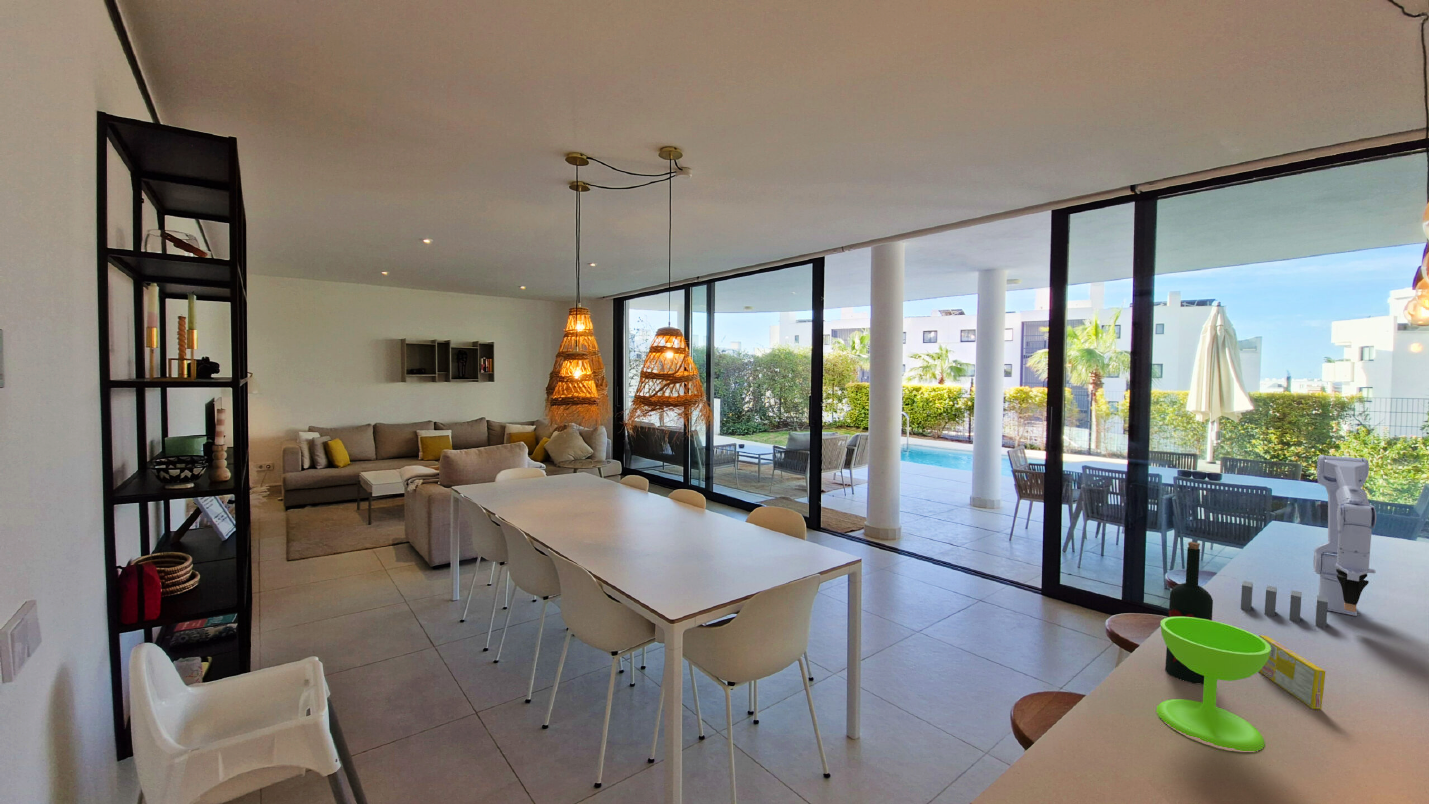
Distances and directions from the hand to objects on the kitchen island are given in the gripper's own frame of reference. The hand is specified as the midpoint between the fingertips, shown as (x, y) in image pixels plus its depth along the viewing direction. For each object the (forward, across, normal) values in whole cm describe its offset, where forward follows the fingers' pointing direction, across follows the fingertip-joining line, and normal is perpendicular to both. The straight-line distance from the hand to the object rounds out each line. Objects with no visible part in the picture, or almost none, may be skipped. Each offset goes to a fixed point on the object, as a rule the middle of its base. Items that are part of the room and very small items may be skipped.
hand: (1350, 600), depth 154 cm
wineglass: (+8, -82, +20) cm, 85 cm away
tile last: (+8, 0, +20) cm, 22 cm away
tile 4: (+8, 0, +15) cm, 17 cm away
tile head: (+2, 0, 0) cm, 2 cm away
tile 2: (+8, 0, +5) cm, 9 cm away
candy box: (+8, -52, +10) cm, 54 cm away
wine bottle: (+8, -62, +26) cm, 68 cm away
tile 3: (+8, 0, +10) cm, 13 cm away
